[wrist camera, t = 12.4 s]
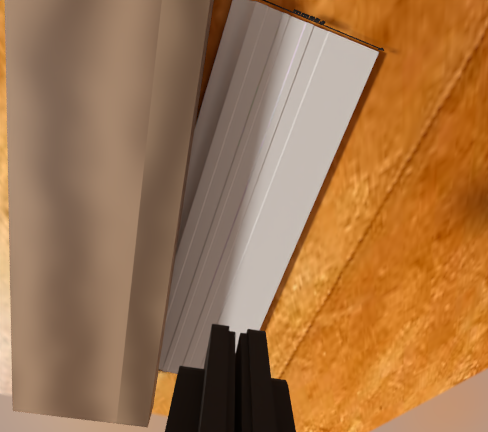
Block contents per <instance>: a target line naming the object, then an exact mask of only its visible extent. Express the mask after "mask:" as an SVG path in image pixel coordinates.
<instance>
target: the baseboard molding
mask: <svg viewBox="0 0 488 432" xmlns="http://www.w3.org/2000/svg"><path fill="white" fill-rule="evenodd" d="M263 1H265V2H268V1H266V0H263ZM268 3H270V2H268ZM270 4H273V3H270ZM273 5H275V4H273ZM275 6H277V7H280V6H278V5H275ZM280 8H282V7H280ZM282 9H285V8H282ZM285 10H287V9H285ZM287 11H289V12H292V11H290V10H287ZM295 12H296V13H295ZM292 13H294V14H297V13H299V14H297V15H299V16H301V17H304V18H306V16H307V18H306V19H309V20H311V21H313V22H316V23H318V22H319V21H320V19H318V18H316V19H315V17H313V16H310V15H307V14H305V13H302V14H301V12H300V11H297V10H295V9H294V11H293V12H292ZM300 14H301V15H300ZM303 15H304V16H303ZM309 16H310V18H309ZM318 24H321V25H323V26H325V27H328V26H326V25H324V24H325V21H322V22H321V21H320V23H318ZM328 28H330V27H328ZM330 29H333V28H330ZM333 30H335V29H333ZM335 31H337V32H340V31H338V30H335ZM340 33H342V32H340ZM342 34H345V33H342ZM345 35H347V34H345ZM347 36H349V37H352V36H350V35H347ZM352 38H354V37H352ZM354 39H357V38H354ZM357 40H359V39H357ZM359 41H361V42H364V41H362V40H359ZM364 43H366V42H364ZM366 44H369V43H366ZM369 45H371V44H369ZM371 46H373V45H371ZM373 47H376V46H373ZM376 48H378V47H376ZM378 50H382V51H384V49H383V48H378ZM378 54H379V52H378V51H375V50H373V49H370V48H368V47H365V46H363V45H361V44H358V43H356V42H353V41H351V40H349V39H346V38H344V37H341V36H339V35H337V34H334V33H332V32H329V31H326V30H324V29H321V28H319V27H316V26H314V25H313V24H310V23H308V22H304V21H302V20H299V19H297V18H295V17H292V16H290V15H288V14H286V13H283V12H280V11H278V10H275V9H273V8H271V7H268V6H267V5H264V4H262V3H260V2H257V1H250V0H232V4H231V7H230V11H229V14H228V17H227V21H226V24H225V27H224V31H223V34H222V38H221V41H220V44H219V48H218V51H217V55H216V58H215V61H214V65H213V68H212V72H211V75H210V78H209V82H208V85H207V88H206V92H205V95H204V99H203V102H202V105H201V109H200V112H199V116H198V119H197V122H196V126H195V129H194V136H193V143H192V150H191V156H190V163H189V170H188V176H187V183H186V190H185V196H184V203H183V210H182V216H181V223H180V230H179V236H178V243H177V250H176V256H175V263H174V270H173V277H172V283H171V290H170V297H169V303H168V310H167V317H166V323H165V330H164V337H163V343H162V350H161V357H160V363H159V369H160V370H162V371H165V372H172V373H176V374H178V370H179V366H186V367H193V368H201V369H204V363H205V358H206V353H207V347H208V342H209V337H210V331H211V326H212V324H219V325H226V326H229V331H233V332H235V333H236V339H235V354H236V349H237V345H238V340H239V336H240V333H246V332H247V329H253V330H260V328H261V325H262V323H263V321H264V318H265V316H266V314H267V312H268V309H269V307H270V305H271V302H272V300H273V298H274V295H275V293H276V291H277V288H278V286H279V284H280V281H281V279H282V277H283V274H284V272H285V270H286V267H287V265H288V263H289V260H290V258H291V256H292V253H293V251H294V249H295V246H296V244H297V242H298V239H299V237H300V235H301V232H302V230H303V228H304V226H305V223H306V221H307V219H308V216H309V214H310V212H311V209H312V207H313V205H314V202H315V200H316V198H317V195H318V193H319V191H320V188H321V186H322V184H323V181H324V179H325V177H326V174H327V172H328V170H329V167H330V165H331V163H332V160H333V158H334V156H335V153H336V151H337V149H338V147H339V144H340V142H341V140H342V137H343V135H344V133H345V130H346V128H347V126H348V123H349V121H350V119H351V116H352V114H353V112H354V109H355V107H356V105H357V102H358V100H359V98H360V95H361V93H362V91H363V88H364V86H365V84H366V81H367V79H368V77H369V74H370V72H371V70H372V67H373V65H374V63H375V61H376V58H377V56H378Z"/></svg>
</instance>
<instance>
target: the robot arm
mask: <svg viewBox="0 0 488 432" xmlns="http://www.w3.org/2000/svg"><path fill="white" fill-rule="evenodd" d="M235 339H236V333H235V332H233V331H229V326H226V325H219V324H212V326H211V331H210V337H209V342H208V347H207V353H206V358H205V363H204V369H201V368H193V367H186V366H179V370H178V375H177V379H176V384H175V388H174V393H173V397H172V402H171V406H170V411H169V416H168V420H167V425H166V429H165V432H296V430H295V424H294V418H293V412H292V406H291V401H290V395H289V389H288V384H287V382H286V380H281V379H274V378H271V373H270V365H269V356H268V347H267V339H266V332H265V331H260V330H253V329H247V332H246V333H240V336H239V340H238V345H237V349H236V354H235Z"/></svg>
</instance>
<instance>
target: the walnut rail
mask: <svg viewBox="0 0 488 432" xmlns="http://www.w3.org/2000/svg"><path fill="white" fill-rule="evenodd" d="M213 2H214V0H5V36H6V88H7V139H8V191H9V243H10V295H11V347H12V398H13V411H18V412H26V413H35V414H43V415H51V416H59V417H68V418H75V419H85V420H92V421H100V422H108V423H117V424H125V425H134V426H142V427H148V424H149V420H150V416H151V413H152V409H153V404H154V397H155V390H156V383H157V377H158V370H159V363H160V357H161V350H162V343H163V337H164V330H165V323H166V317H167V310H168V303H169V297H170V290H171V283H172V277H173V270H174V263H175V256H176V250H177V243H178V236H179V230H180V223H181V216H182V210H183V203H184V196H185V190H186V183H187V176H188V170H189V163H190V156H191V150H192V143H193V136H194V129H195V123H196V116H197V109H198V103H199V96H200V89H201V83H202V76H203V69H204V63H205V56H206V49H207V43H208V36H209V29H210V23H211V16H212V9H213Z"/></svg>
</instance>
